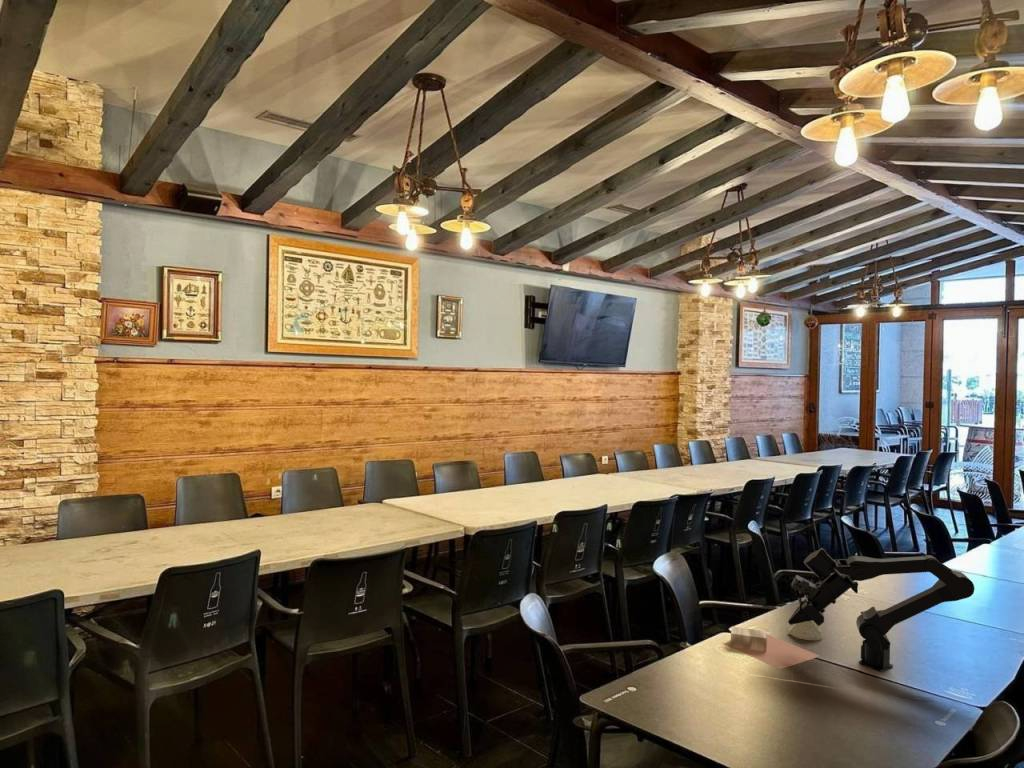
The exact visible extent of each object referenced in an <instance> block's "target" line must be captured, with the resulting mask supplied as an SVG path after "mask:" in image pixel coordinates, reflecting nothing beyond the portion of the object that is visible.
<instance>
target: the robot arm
mask: <svg viewBox="0 0 1024 768" xmlns="http://www.w3.org/2000/svg"><path fill="white" fill-rule="evenodd" d="M803 563H804V565H805V566H806V567H807V568H808V569H809V570H810V571H811V572H812V573H813V574H814V575H816V576H817V577H818V578H822V579H824V580H823V581H822V582H820V581H817V582H816V583H813V582H811V581H809V580H807V579H805V578H804V577H802V576H799V575H798V574H795V576H794V578H793V580H792V582H791V588H792V589H793V590H795V591H798V593H799V594H800V595H803V597H802V598H801V597H800V596H799V597H798V606H797V607H796V609H795V610H794V612H793V614H792V615H791V617H789V619H788V621H787V622H788V624H789V625H791V626H793V625H794V624H797V623H802V622H807V621H812V620H813V621H814V622H815V623H816V624H817V625H818V626H819V627H820V626H821V625H823V623H825V615H824V612H826V608H827V607H829V606H830V605H831V604H833V605H835V604H836V603H837V601H836V600H837V599H839V598H840V597H841V596H843V594H845V593H846V592H847V591H848V590H850V589H851V590H852V591H853V592H854V593H855V594H858V593H859V590H858V589H859V588H858V587H859V583H858V582H862V581H867V580H872V579H876V578H877V577H879V576H885V575H899V574H900V575H901V574H917V573H919V574H920V573H930V574H932V575H933V576H935V577H936V578H937V579H938V580H937V581H936V582H935V583H934V584H933V585H932V586H931V587H929V588H927V589H925V590H923V591H921V592H919V593H917V594H915V595H913V596H911V597H908V598H906V599H904V600H902V601H900V602H898V603H896V604H893V605H892V606H890V607H888V608H886V609H881V610H880V609H879V610H877V609H876V607H875V606H872V607H870V608H869V609H866V610H864V611H860V615H858V616H857V618H856V621H855V623H856V624H855V625H856V628H857V630H858V633H859V635H860V636H861V637H862V638H863V640H862V643H861V645H860V660H858V664H860V665H863V666H866V667H868V668H871V669H873V670H876V671H878V672H882V671H884V670H888V669H892V668H893V667H894V666H893V665H894V664H891V663H890V661H891V642H890V640H889V637H888V636H887V634H888V633H889V632H890V630H891V629H892V628H893V627H895V625H898V624H900V623H903V622H904V621H907V620H909V619H911V618H913V617H914V616H916V615H919V614H921V613H923V612H925V611H928V610H929V609H931V608H934V607H936V606H938V605H940V604H942V603H947V602H948V603H949V602H957V601H961V600H965V599H969V598H970V597H972V596H973V595H974V592H975V584H974V583H973V581H972V580H971V579H970V578H969V576H968V577H967V575H966V574H964V573H963V572H961V571H958V570H952V569H951V568H949V566H947V565H945V564H943V562H940V561H939V560H938V559H937V558H936V557H934V555H930V554H926V555H920V556H908V557H892V558H891V557H890V558H874V557H868V556H861V555H852V556H849V557H847V558H846V559H844V558H841V559H833V558H832V557H831V556H830V555H829V554H828V553H827V551H826V550H825V549H824V548H823V547H820V548H819V549H818V550H815V551H813V552H810V553H809V555H808V556H806V558H805V559H804V561H803Z"/></svg>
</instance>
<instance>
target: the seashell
mask: <svg viewBox="0 0 1024 768" xmlns="http://www.w3.org/2000/svg"><path fill="white" fill-rule="evenodd" d="M787 633H788V634H789V635H791V636H792V637H794V638H797V639H801V640H806V641H820V640H822V638H823V633H822V630H821V628H820V626H818V625H817V624H816V623H815V622H814V621H813V620H812V621H807V622H802V623H797V624H792V625H791V627H790V628H789V629H788V631H787Z"/></svg>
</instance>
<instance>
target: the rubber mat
mask: <svg viewBox="0 0 1024 768" xmlns="http://www.w3.org/2000/svg"><path fill="white" fill-rule="evenodd" d="M724 645H725V646H727V647H730V648H731V649H733V650H736V651H739V652H741V653H743V654H745V655H747V656H750V657H752V658H754V659H756V660H759V661H761V662H764V663H766V664H768V665H770V666H773V667H774V668H776V669H779V670H782V669H785V668H789V667H791V666H795V665H798V664H801V663H805V662H808V661H810V660H814V659H816V658H819V657H821V655H819V654H817V653H814V652H811V651H810V650H806V649H804V648H802V647H799V646H797V645H794V644H792V643H790V642H787V641H784V640H781V639H780V638H777V637H774V636H772V635H769V634H767V647H766V652H763V651H757V650H750V649H743V648H736V647H731V641H729V642H726V643H724Z"/></svg>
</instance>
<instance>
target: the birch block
mask: <svg viewBox="0 0 1024 768" xmlns="http://www.w3.org/2000/svg"><path fill="white" fill-rule="evenodd" d="M767 635H768V632H767V631H766V630H760V629H752V628H746V627H739V626H738V627H737V626H731V632H730V642H731V647H730V648H732V647H736V648H743V649H750V650H757V651H763V652H766V647H767Z"/></svg>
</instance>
